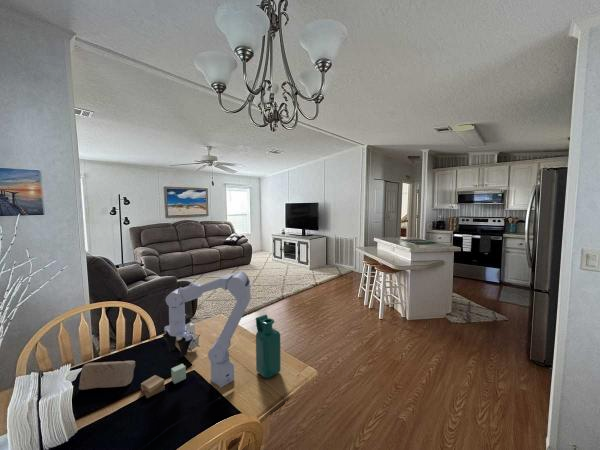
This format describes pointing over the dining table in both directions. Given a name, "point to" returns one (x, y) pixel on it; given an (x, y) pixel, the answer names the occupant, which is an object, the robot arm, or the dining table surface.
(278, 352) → the green bottle
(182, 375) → the sage block
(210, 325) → the dining table surface
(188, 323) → the medicine bottle
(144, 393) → the slab lower
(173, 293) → the robot arm
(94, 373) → the brick
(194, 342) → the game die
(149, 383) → the slab upper
